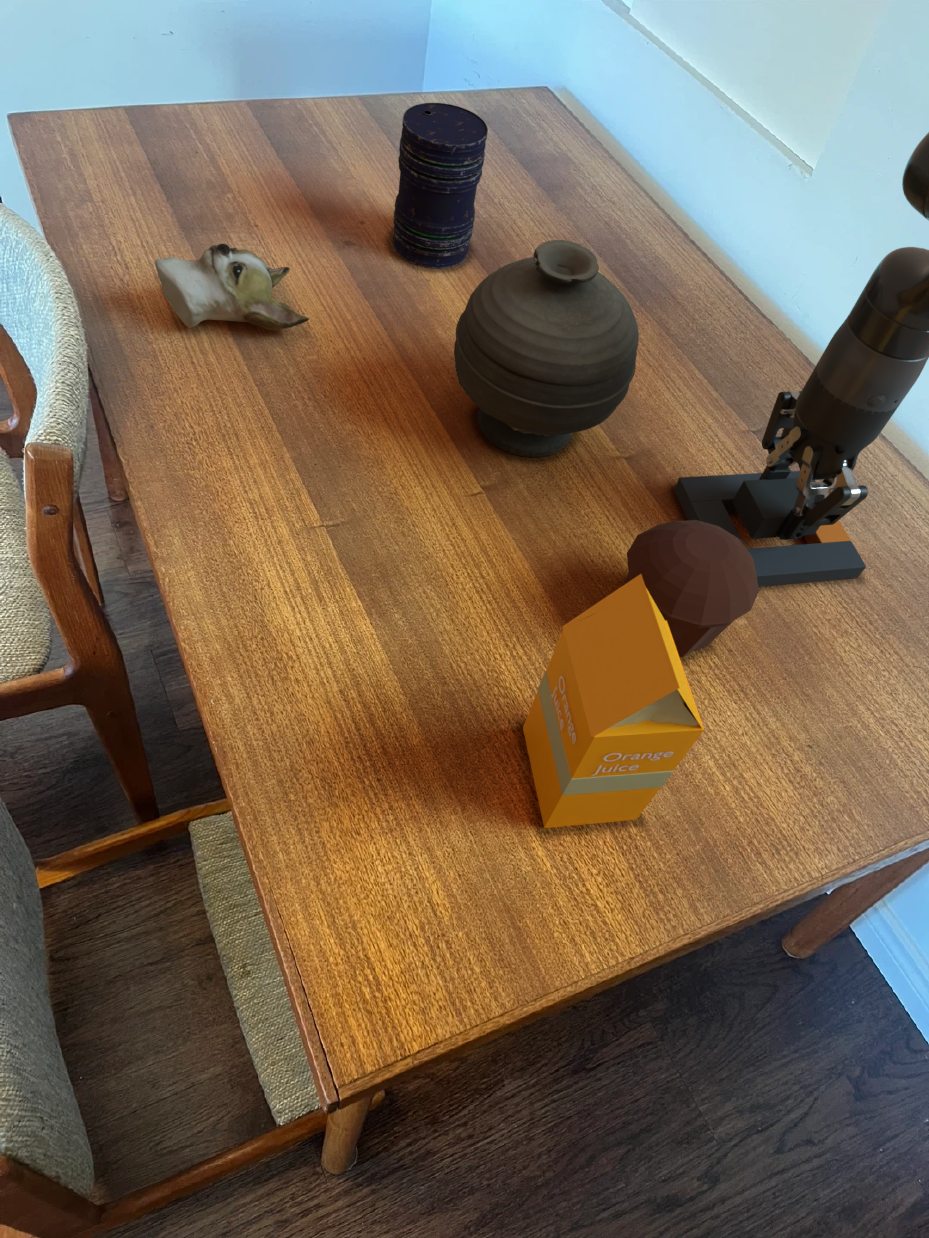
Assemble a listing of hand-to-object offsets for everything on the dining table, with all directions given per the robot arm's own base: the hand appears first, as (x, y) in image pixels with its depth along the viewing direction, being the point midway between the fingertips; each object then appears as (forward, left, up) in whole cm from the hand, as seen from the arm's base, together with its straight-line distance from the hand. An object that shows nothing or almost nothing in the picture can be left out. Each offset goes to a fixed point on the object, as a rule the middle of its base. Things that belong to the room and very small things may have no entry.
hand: (775, 515), depth 87 cm
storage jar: (+25, -50, -3) cm, 56 cm away
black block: (0, 0, 0) cm, 0 cm away
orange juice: (+27, +23, -3) cm, 36 cm away
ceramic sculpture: (+50, -36, -3) cm, 62 cm away
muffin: (+14, +9, -3) cm, 17 cm away
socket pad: (0, 0, -3) cm, 3 cm away
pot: (+21, -17, -3) cm, 27 cm away
